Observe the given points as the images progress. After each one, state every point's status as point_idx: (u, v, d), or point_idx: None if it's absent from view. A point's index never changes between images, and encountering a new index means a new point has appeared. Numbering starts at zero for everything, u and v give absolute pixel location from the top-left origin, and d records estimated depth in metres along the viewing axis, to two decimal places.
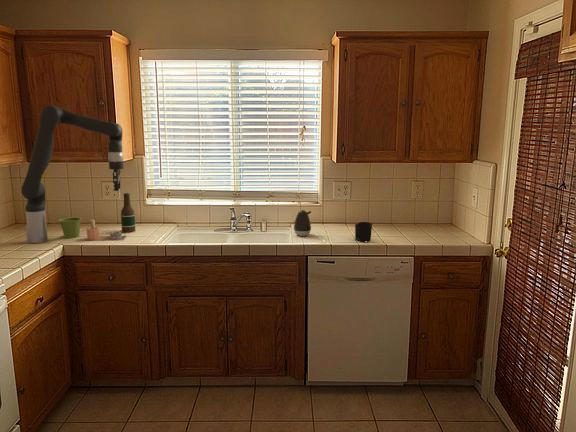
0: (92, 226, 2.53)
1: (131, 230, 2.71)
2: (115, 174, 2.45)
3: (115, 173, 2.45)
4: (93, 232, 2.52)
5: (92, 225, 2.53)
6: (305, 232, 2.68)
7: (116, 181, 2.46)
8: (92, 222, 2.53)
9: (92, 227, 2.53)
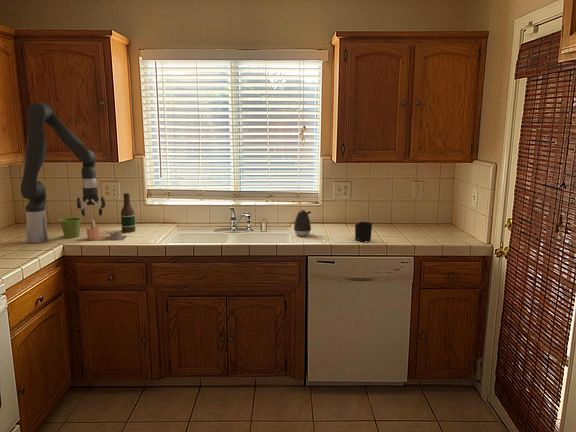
0: (92, 226, 2.53)
1: (131, 230, 2.71)
2: (103, 198, 2.52)
3: (103, 197, 2.52)
4: (93, 232, 2.52)
5: (92, 225, 2.53)
6: (305, 232, 2.68)
7: (104, 205, 2.53)
8: (92, 222, 2.53)
9: (92, 227, 2.53)
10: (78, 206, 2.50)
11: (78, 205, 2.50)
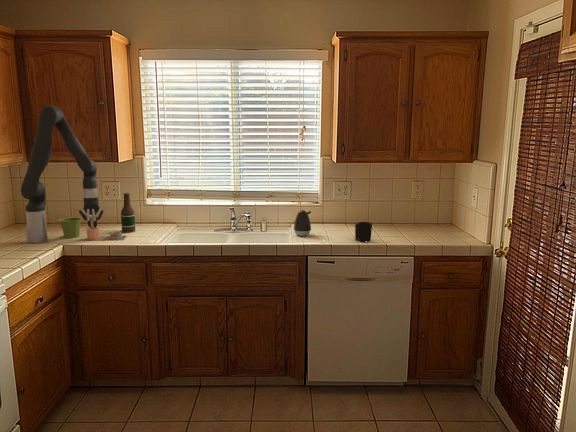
0: (92, 223, 2.53)
1: (131, 230, 2.71)
2: (103, 212, 2.54)
3: (103, 211, 2.54)
4: (93, 232, 2.52)
5: (92, 222, 2.53)
6: (305, 232, 2.68)
7: (100, 217, 2.54)
8: (92, 219, 2.52)
9: (92, 224, 2.53)
10: (85, 218, 2.51)
11: (83, 217, 2.51)
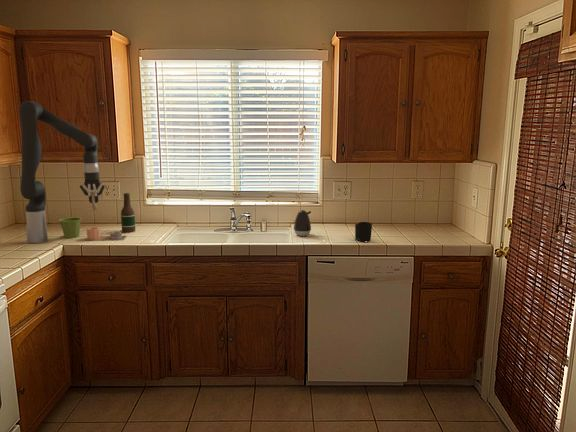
0: (93, 198, 2.50)
1: (131, 230, 2.71)
2: (104, 187, 2.51)
3: (104, 186, 2.51)
4: (93, 232, 2.52)
5: (93, 197, 2.50)
6: (305, 232, 2.68)
7: (101, 193, 2.52)
8: (93, 194, 2.50)
9: (93, 199, 2.50)
10: (86, 193, 2.49)
11: (84, 192, 2.49)
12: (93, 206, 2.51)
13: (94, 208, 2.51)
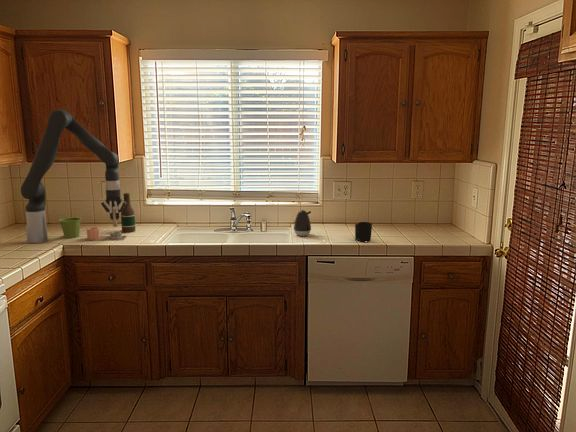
0: (114, 215, 2.54)
1: (131, 230, 2.71)
2: (125, 204, 2.54)
3: (125, 203, 2.54)
4: (93, 232, 2.52)
5: (114, 214, 2.53)
6: (305, 232, 2.68)
7: (122, 210, 2.55)
8: (114, 211, 2.53)
9: (114, 216, 2.54)
10: (107, 210, 2.52)
11: (106, 209, 2.52)
12: (114, 223, 2.54)
13: (115, 225, 2.55)
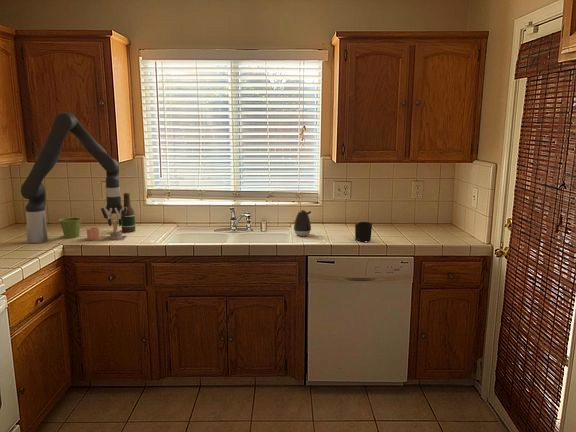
0: (114, 227, 2.55)
1: (131, 230, 2.71)
2: (126, 209, 2.55)
3: (126, 208, 2.55)
4: (93, 232, 2.52)
5: (115, 226, 2.55)
6: (305, 232, 2.68)
7: (124, 216, 2.56)
8: (115, 223, 2.54)
9: (114, 228, 2.55)
10: (105, 216, 2.53)
11: (104, 215, 2.53)
12: None
13: None
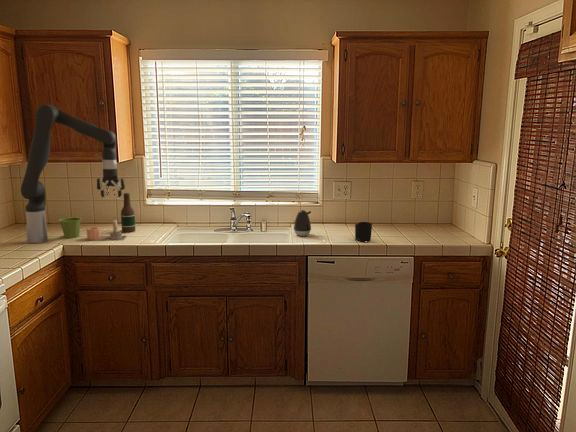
0: (114, 226, 2.55)
1: (131, 230, 2.71)
2: (123, 180, 2.53)
3: (123, 179, 2.53)
4: (93, 232, 2.52)
5: (114, 225, 2.55)
6: (305, 232, 2.68)
7: (124, 187, 2.54)
8: (115, 222, 2.55)
9: (114, 227, 2.55)
10: (98, 187, 2.50)
11: (98, 186, 2.50)
12: None
13: None
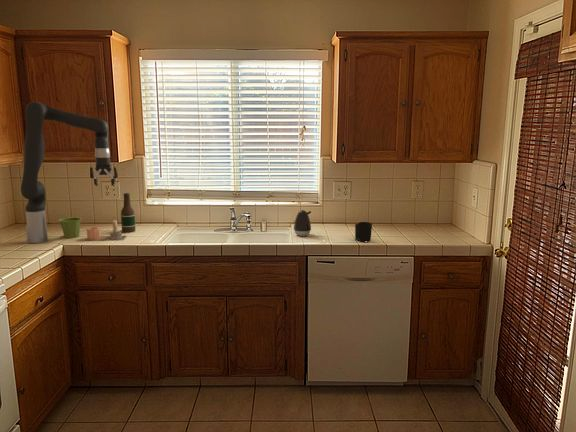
0: (114, 227, 2.55)
1: (131, 230, 2.71)
2: (116, 169, 2.55)
3: (116, 168, 2.55)
4: (93, 232, 2.52)
5: (114, 226, 2.55)
6: (305, 232, 2.68)
7: (117, 175, 2.56)
8: (114, 223, 2.54)
9: (114, 228, 2.55)
10: (91, 176, 2.52)
11: (91, 175, 2.52)
12: None
13: None
